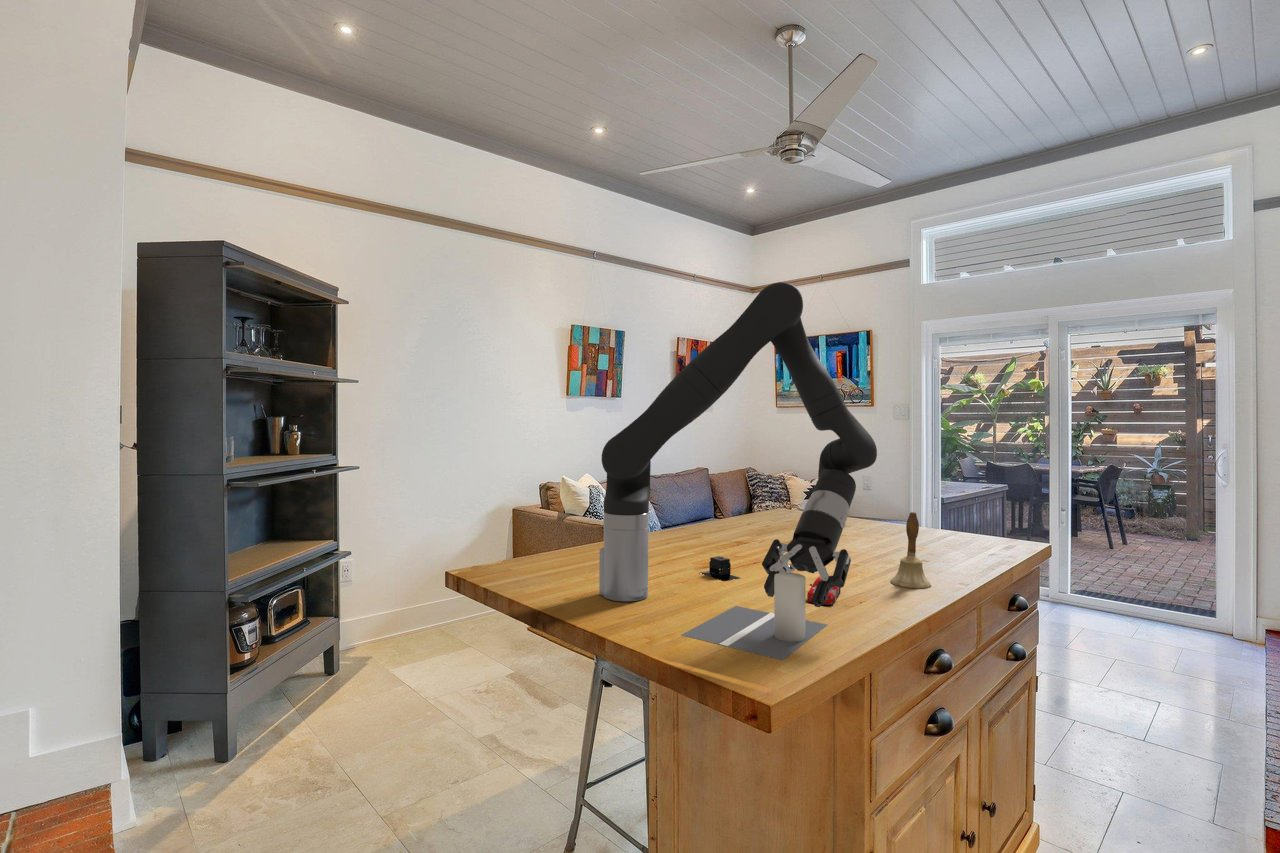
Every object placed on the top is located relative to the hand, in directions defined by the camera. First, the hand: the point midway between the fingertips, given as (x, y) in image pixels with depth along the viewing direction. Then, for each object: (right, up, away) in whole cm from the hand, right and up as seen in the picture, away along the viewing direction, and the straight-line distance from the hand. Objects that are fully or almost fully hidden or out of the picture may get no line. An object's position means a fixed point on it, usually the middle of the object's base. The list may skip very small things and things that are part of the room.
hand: (791, 599), depth 103 cm
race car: (+13, -7, +25) cm, 29 cm away
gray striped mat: (-5, -7, +3) cm, 9 cm away
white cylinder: (0, -6, 0) cm, 6 cm away
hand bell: (+35, -7, +36) cm, 51 cm away
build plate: (-7, -7, +42) cm, 43 cm away
